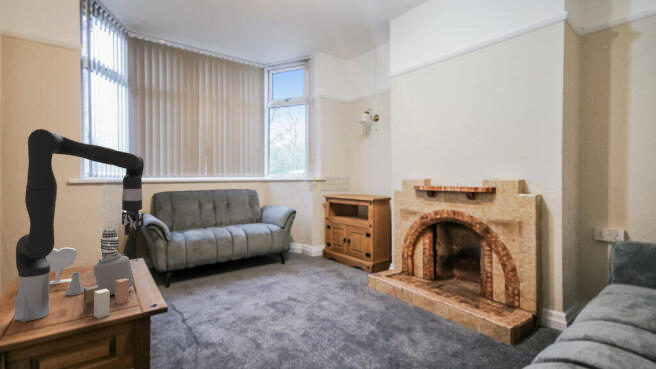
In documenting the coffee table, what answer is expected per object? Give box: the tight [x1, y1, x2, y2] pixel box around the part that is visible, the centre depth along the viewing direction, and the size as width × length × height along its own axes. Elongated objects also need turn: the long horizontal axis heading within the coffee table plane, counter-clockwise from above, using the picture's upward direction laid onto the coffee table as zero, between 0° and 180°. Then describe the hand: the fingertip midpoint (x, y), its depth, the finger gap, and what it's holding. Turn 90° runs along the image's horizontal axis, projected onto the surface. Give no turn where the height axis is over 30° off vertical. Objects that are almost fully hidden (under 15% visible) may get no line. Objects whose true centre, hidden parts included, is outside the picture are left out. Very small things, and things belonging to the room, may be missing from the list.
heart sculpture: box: [46, 246, 78, 285], centre depth 164 cm, size 16×5×18 cm, turn 134°
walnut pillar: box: [82, 285, 99, 315], centre depth 129 cm, size 4×4×10 cm
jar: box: [92, 244, 135, 296], centre depth 151 cm, size 19×15×25 cm
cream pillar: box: [93, 289, 111, 319], centre depth 126 cm, size 4×4×10 cm
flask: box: [64, 271, 85, 296], centre depth 149 cm, size 7×7×10 cm
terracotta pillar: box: [114, 278, 130, 305], centre depth 140 cm, size 4×4×10 cm
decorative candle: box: [100, 228, 120, 258], centre depth 188 cm, size 9×9×25 cm
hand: (132, 235), depth 134 cm, fingers open, 8 cm apart
